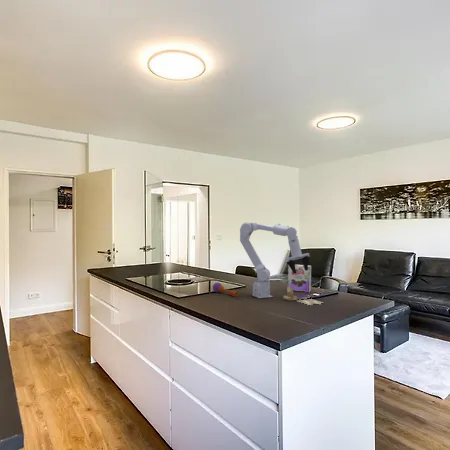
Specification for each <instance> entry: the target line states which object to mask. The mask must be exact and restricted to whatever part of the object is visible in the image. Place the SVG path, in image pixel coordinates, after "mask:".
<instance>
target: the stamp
mask: <svg viewBox="0 0 450 450" xmlns="http://www.w3.org/2000/svg"><path fill="white" fill-rule="evenodd" d="M283 300H284V301H288V302H294V300H296V301H297V299H296V297H295V296H294V291H293V287H288V286H287V287H286V295H283Z"/></svg>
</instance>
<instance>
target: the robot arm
mask: <svg viewBox="0 0 450 450" xmlns="http://www.w3.org/2000/svg"><path fill="white" fill-rule="evenodd" d="M258 230H261V231H266V232H267V231H268V232H272V233H273V235H277V236H280V237H281V236H282V237H287V239H288V241H287V242H288V246H289V250H290V254H291V256H290V257H287V258H285V259H284V260H285V263H286V264H287V266H288V265H289V266H290V268H291V269H292V271H293V274H296V269H295V265H296V264H295V263H296V261H295V260H301V262H302V265H304V269H305V270H308V265H309V261H310V253H309V252H307V253H303V252H302V249H301V245H300V241H299V236H298V233H297V232H298V231H297V229H296V228H295V227H292V226H291V227H290V226H289V225H281V223H278V224H275V225H268V224H264V223H258V222H243V223H242V224H241V226H240V228H239V241H240V244H241V246H242V247H243V249H244V250H245V252H246V254H247V256H248V258H249V259H250V261H251V263H252V265H253V266H254V270H255V273H256V276H257V280H255V281H254V282H253V283H252V295H251V296H252V297H255V298H258V299H264V298H265V299H266V298H273V297H274V296H273V295H270V294H271V280H270V276H271V271H270V270H269V269H268V268H267V267H266V266H265V264H264V263H263V262H262V260H261V258H260V256H259V255H258V253H257V251H256V250H255V248H254V246H253V244H252V243H251V241H250V239H251V235H252V233H254V232H255V231H258Z"/></svg>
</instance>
